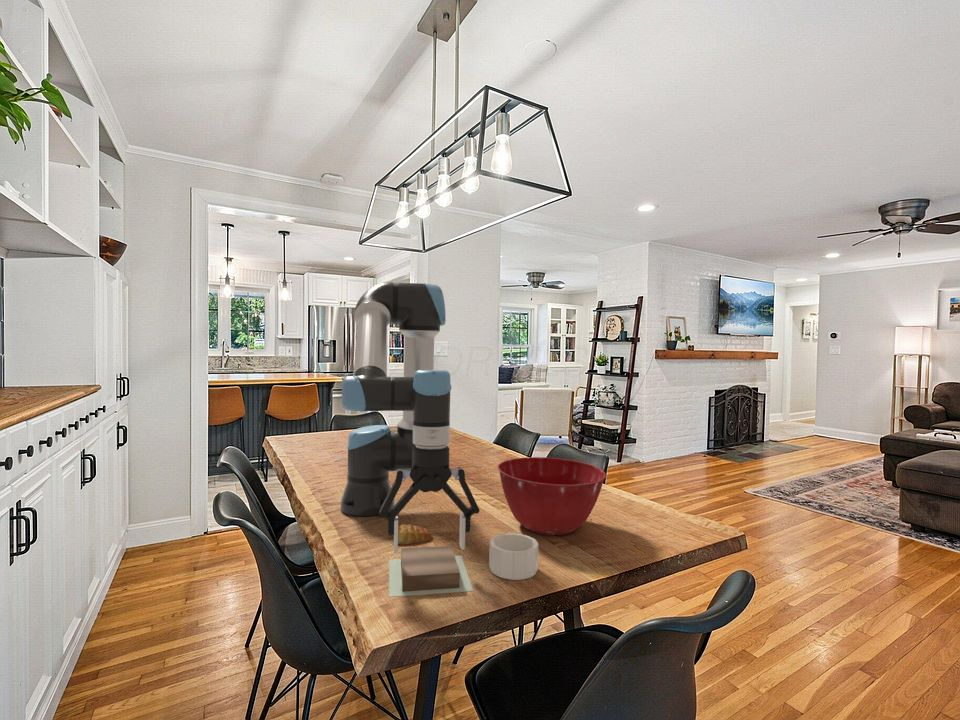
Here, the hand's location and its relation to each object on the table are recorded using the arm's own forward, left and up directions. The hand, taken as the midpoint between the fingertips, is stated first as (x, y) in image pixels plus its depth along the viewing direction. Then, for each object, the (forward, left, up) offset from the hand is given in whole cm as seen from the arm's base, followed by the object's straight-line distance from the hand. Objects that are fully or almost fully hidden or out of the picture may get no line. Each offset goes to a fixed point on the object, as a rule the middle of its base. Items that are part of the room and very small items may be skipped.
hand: (429, 548), depth 102 cm
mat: (0, 0, -6) cm, 6 cm away
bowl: (0, +18, -6) cm, 19 cm away
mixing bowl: (-24, +34, -6) cm, 42 cm away
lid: (0, 0, -6) cm, 6 cm away
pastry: (-20, -3, -6) cm, 21 cm away
